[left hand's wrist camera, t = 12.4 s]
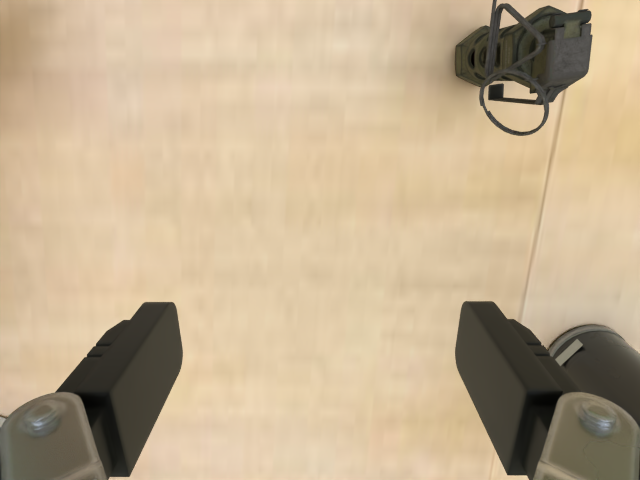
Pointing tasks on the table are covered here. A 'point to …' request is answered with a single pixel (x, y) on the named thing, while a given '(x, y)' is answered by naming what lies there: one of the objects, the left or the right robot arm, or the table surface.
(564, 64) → the grenade
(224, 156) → the table surface
